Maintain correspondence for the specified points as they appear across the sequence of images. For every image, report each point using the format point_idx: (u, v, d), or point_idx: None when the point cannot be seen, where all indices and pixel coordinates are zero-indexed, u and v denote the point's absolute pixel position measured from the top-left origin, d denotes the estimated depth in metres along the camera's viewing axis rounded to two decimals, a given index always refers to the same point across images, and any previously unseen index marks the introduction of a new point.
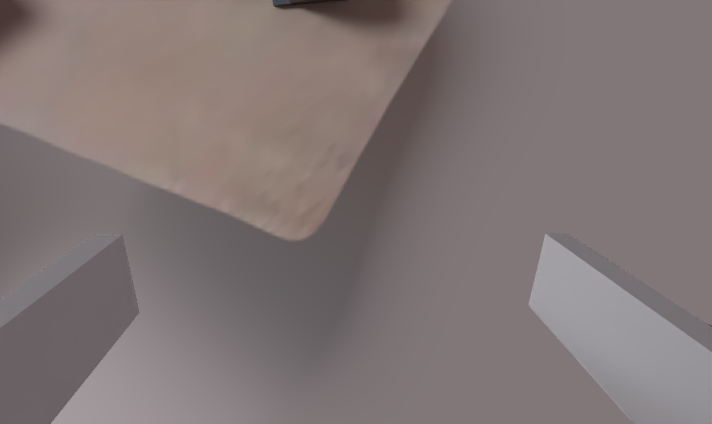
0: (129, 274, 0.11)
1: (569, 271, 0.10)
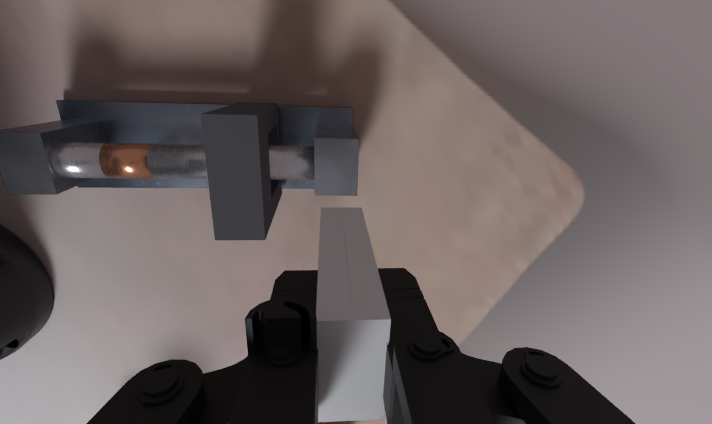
0: None
1: None
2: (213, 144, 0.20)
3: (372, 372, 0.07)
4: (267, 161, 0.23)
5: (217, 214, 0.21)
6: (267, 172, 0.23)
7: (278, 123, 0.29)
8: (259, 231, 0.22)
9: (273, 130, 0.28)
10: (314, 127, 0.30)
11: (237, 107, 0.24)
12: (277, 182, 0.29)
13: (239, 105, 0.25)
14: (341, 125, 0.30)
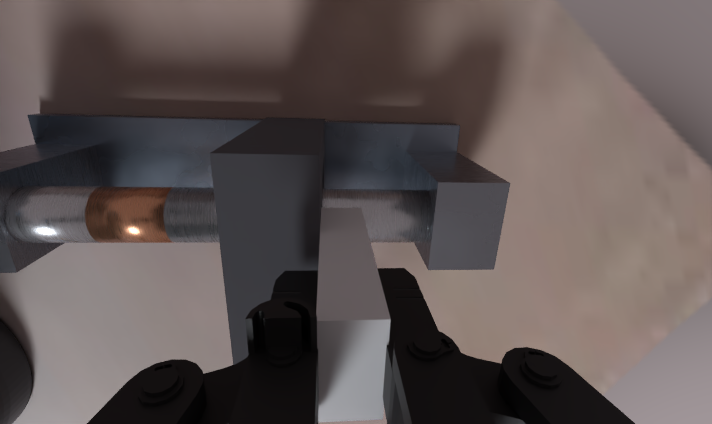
0: None
1: None
2: (233, 209, 0.10)
3: (372, 372, 0.07)
4: None
5: (238, 327, 0.12)
6: None
7: (324, 148, 0.19)
8: None
9: None
10: (403, 153, 0.21)
11: (270, 130, 0.14)
12: None
13: (270, 124, 0.16)
14: (442, 150, 0.21)
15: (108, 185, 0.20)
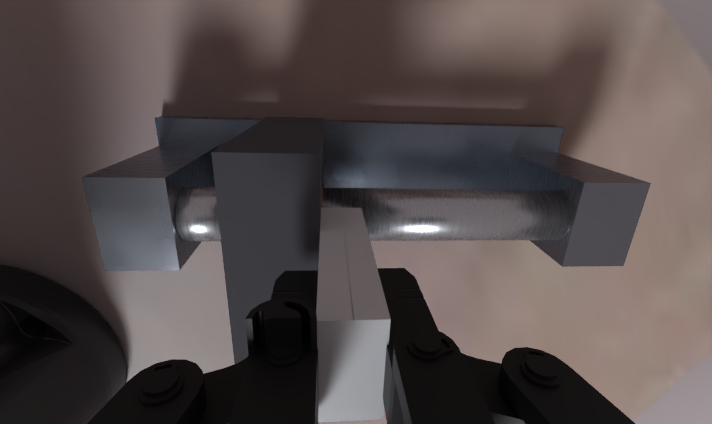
0: None
1: None
2: (235, 207, 0.11)
3: (372, 372, 0.07)
4: None
5: (239, 324, 0.12)
6: None
7: None
8: None
9: None
10: (507, 154, 0.21)
11: (270, 129, 0.14)
12: None
13: (270, 124, 0.16)
14: (544, 151, 0.21)
15: None
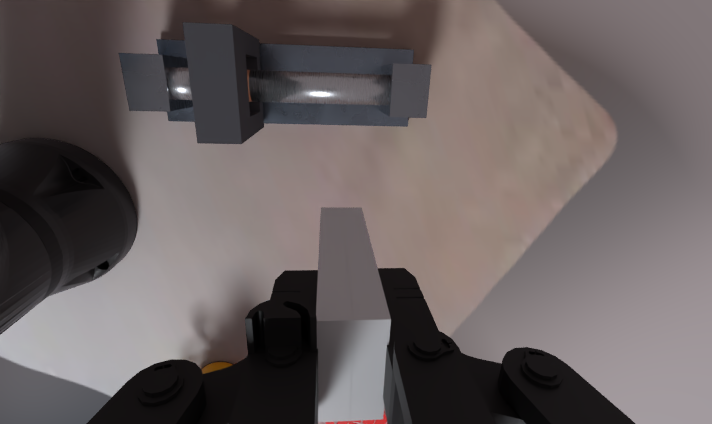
0: None
1: None
2: (194, 51, 0.23)
3: (372, 372, 0.07)
4: (245, 78, 0.26)
5: (199, 118, 0.24)
6: (244, 87, 0.26)
7: (259, 58, 0.32)
8: (236, 135, 0.25)
9: (254, 62, 0.31)
10: (379, 67, 0.33)
11: None
12: (258, 112, 0.32)
13: None
14: None
15: None
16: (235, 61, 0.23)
